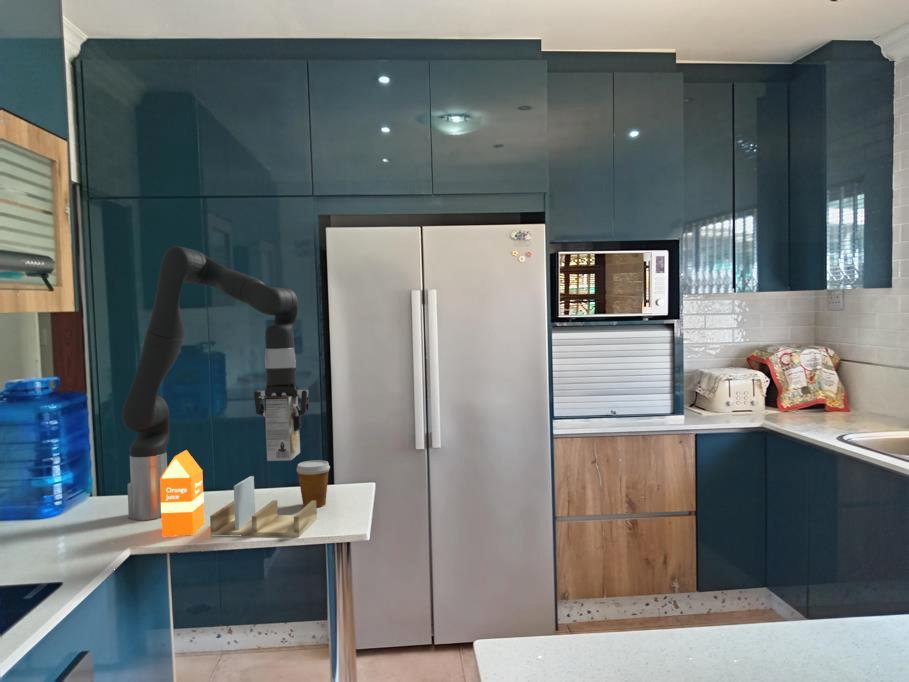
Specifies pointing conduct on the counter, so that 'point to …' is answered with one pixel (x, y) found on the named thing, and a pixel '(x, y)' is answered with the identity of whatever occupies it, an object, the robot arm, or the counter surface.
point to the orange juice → (182, 496)
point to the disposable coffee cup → (313, 481)
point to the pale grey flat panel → (244, 502)
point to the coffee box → (281, 428)
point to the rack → (264, 521)
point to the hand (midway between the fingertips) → (283, 430)
